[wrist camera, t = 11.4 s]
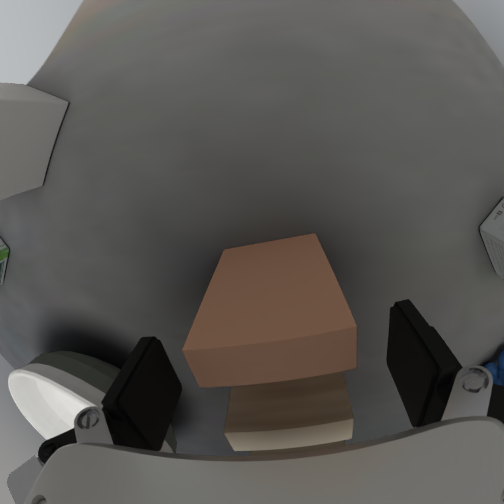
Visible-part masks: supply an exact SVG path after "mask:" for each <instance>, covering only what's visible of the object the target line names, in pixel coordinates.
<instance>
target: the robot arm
mask: <svg viewBox="0 0 504 504" xmlns="http://www.w3.org/2000/svg"><path fill="white" fill-rule="evenodd" d="M387 365H388V368H389V370H390V373H391V375H392V377H393V380H394V382H395V384H396V387H397V389H398V392H399V394H400V396H401V399H402V401H403V404H404V406H405V409H406V411H407V414H408V417H409V419H410V422H411V424H412V426H413V427H417V428H414V429H411V430H408V431H404V432H401V433H397V434H394V435H390V436H386V437H382V438H378V439H374V440H369V441H365V442H361V443H356V444H351V445H346V446H341V447H335V448H329V449H323V450H316V451H308V452H300V453H290V454H278V455H261V456H206V455H189V454H177V453H168V452H160V450H161V448H162V445H163V442H164V440H165V437H166V434H167V431H168V428H169V425H170V422H171V420H172V417H173V414H174V411H175V408H176V405H177V403H178V400H179V397H180V394H181V391H182V386H181V383H180V381H179V379H178V377H177V375H176V373H175V371H174V369H173V367H172V365H171V363H170V361H169V358H168V356H167V354H166V352H165V350H164V348H163V345H162V343H161V341H160V340H157V338H156V337H154V336H153V337H142V338H141V339H140V340H139V342H138V343H137V345H136V346H135V348H134V350H133V351H132V353H131V354H130V356H129V357H128V359H127V361H126V362H125V364H124V365H123V367H122V369H121V370H120V372H119V373H118V375H117V377H116V378H115V380H114V382H113V383H112V385H111V386H110V388H109V390H108V391H107V393H106V395H105V396H104V398H103V400H102V401H101V404H102V405H103V407H102V409H100V408H99V407H96V406H90V407H87V408H84V409H83V410H81V411H80V412H79V413H78V414H77V415H76V417H75V419H74V428H73V429H70V430H68V431H66V432H64V433H62V434H59V435H57V436H55V437H53V438H50V439H48V440H46V441H45V442H44V443H42V445H41V447H40V448H39V451H38V456H39V457H37V456H36V455H34V456H33V457H32V458H31V459H29V460H28V461H27V462H25V463H24V464H22V465H21V466H20V467H18V468H17V469H16V470H15V471H13V472H12V473H11V474H10V475H9V477H8V480H7V484H8V488H9V490H10V492H11V495H12V497H13V499H14V501H15V503H16V504H504V386H501V385H497V384H493V378H492V375H491V373H490V372H489V371H488V370H487V369H486V368H484V367H482V366H479V365H468V366H465V367H462V366H461V364H460V363H459V362H458V360H457V359H456V357H455V356H454V354H453V353H452V352H451V350H450V349H449V347H448V346H447V345H446V343H445V342H444V340H443V339H442V338H441V336H440V335H439V334H438V332H437V331H436V330H435V328H434V327H432V326H429V325H428V323H427V322H426V321H425V319H424V318H423V317H422V315H421V314H420V313H419V311H418V310H417V309H416V308H415V306H414V305H413V304H412V302H411V301H410V300H409V299H407V300H403V301H398V302H395V304H394V306H393V307H391V308H390V322H389V336H388V348H387Z"/></svg>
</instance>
